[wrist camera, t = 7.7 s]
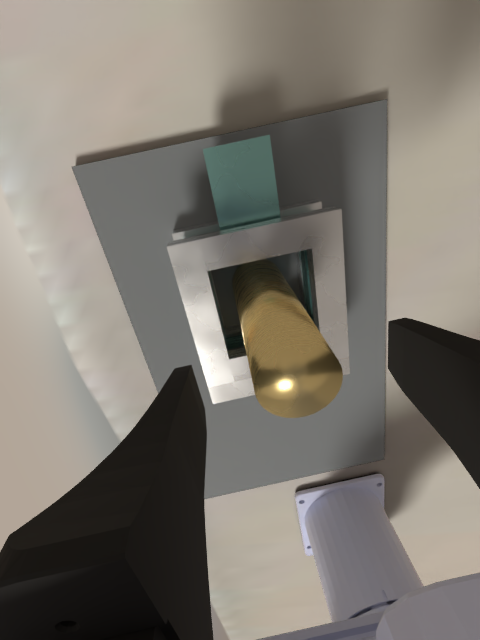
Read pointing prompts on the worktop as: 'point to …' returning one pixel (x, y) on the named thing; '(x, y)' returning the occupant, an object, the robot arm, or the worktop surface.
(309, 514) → the robot arm
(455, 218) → the worktop surface
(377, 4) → the worktop surface
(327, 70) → the worktop surface
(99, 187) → the mat
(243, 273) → the pin
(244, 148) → the grey teal hollow block
